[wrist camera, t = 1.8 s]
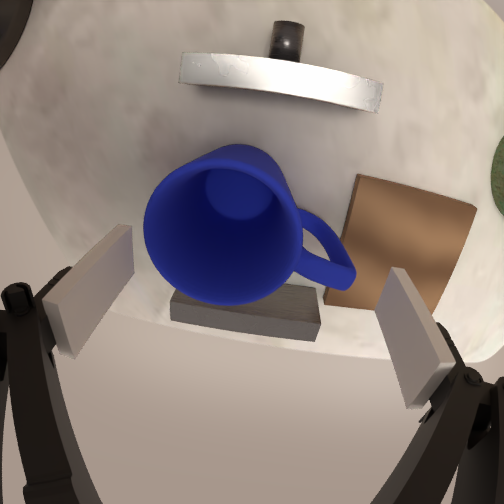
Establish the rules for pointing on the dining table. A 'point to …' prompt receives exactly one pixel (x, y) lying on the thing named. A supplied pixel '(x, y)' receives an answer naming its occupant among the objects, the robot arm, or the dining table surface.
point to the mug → (236, 230)
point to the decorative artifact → (498, 176)
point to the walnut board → (400, 240)
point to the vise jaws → (288, 83)
